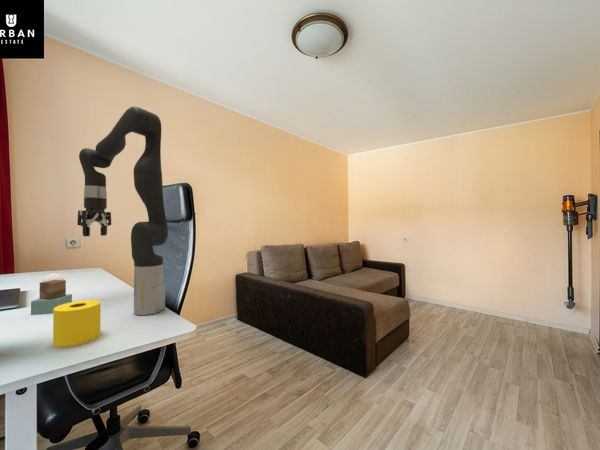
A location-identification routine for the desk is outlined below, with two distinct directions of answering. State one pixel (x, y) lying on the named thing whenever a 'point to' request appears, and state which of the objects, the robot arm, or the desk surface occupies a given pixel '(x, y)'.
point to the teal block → (48, 304)
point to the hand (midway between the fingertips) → (95, 235)
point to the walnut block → (52, 289)
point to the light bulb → (53, 277)
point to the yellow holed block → (76, 323)
